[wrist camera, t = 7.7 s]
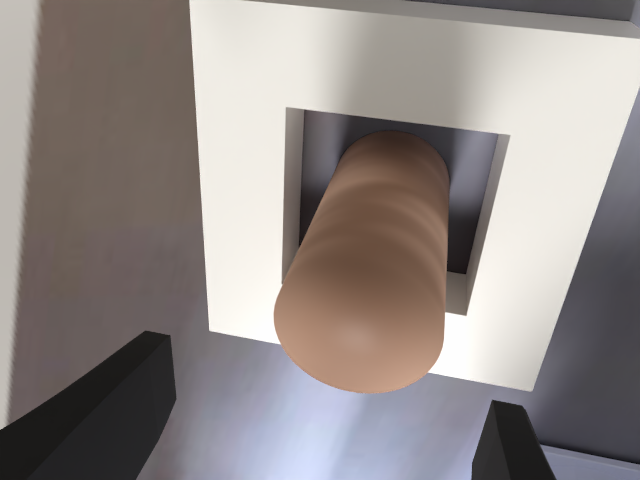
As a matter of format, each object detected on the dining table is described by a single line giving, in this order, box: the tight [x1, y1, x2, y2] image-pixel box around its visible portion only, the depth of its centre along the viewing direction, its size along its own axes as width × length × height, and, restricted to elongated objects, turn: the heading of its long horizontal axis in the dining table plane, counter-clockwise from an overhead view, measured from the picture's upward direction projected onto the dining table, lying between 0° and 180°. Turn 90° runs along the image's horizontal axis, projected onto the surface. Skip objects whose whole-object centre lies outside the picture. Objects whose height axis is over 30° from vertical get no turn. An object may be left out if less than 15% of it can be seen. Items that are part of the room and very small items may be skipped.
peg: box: [273, 130, 450, 393], centre depth 17 cm, size 4×4×8 cm
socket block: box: [190, 0, 640, 392], centre depth 19 cm, size 12×12×2 cm
